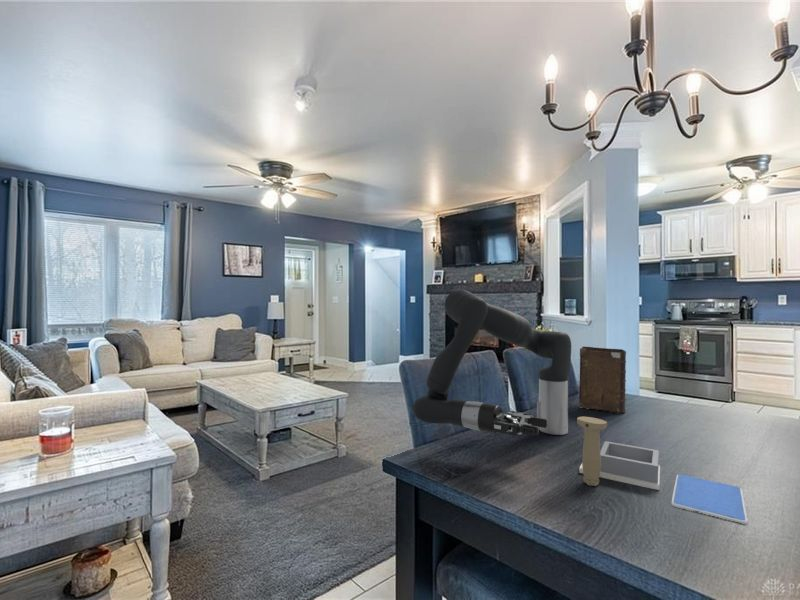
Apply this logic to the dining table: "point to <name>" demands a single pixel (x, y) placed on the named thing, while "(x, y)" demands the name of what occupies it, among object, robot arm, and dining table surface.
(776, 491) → the dining table surface
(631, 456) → the open box
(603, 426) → the handle
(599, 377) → the book
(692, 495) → the tablet computer
